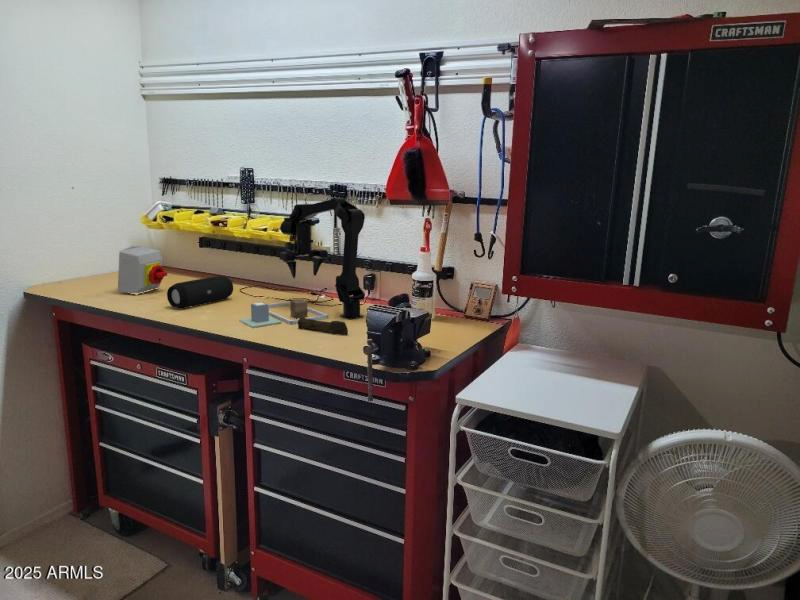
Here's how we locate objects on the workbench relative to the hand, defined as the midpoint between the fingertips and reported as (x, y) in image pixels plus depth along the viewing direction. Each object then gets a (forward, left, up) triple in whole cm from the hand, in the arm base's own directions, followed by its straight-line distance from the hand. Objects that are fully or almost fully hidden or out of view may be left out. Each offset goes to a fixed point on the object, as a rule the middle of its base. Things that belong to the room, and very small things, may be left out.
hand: (304, 276), depth 231 cm
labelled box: (-12, +25, -11) cm, 30 cm away
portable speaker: (+27, +31, -12) cm, 43 cm away
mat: (-12, +25, -12) cm, 30 cm away
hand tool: (-34, +12, -12) cm, 39 cm away
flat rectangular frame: (-7, +10, -12) cm, 17 cm away
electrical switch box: (+61, +43, -12) cm, 76 cm away
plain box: (-13, +10, -12) cm, 20 cm away
